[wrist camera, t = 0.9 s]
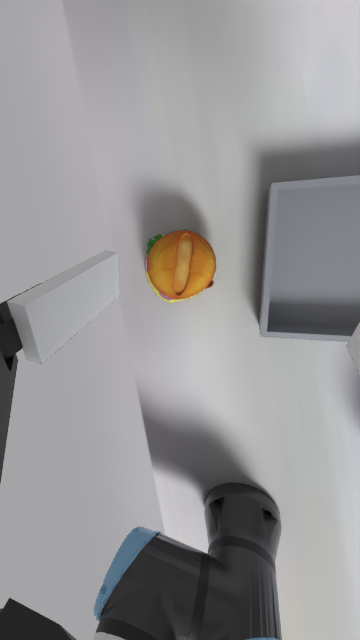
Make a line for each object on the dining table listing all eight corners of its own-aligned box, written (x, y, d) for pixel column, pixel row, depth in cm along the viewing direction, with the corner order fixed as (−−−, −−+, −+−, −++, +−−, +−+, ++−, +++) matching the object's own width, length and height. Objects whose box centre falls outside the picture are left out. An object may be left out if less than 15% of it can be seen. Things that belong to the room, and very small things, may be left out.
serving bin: (411, 332, 34) (437, 347, 29) (258, 324, 39) (260, 336, 34) (454, 175, 28) (495, 162, 23) (267, 190, 33) (271, 183, 28)
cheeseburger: (136, 252, 40) (118, 247, 30) (195, 222, 39) (197, 205, 29) (163, 308, 42) (155, 320, 32) (221, 280, 40) (231, 284, 31)
